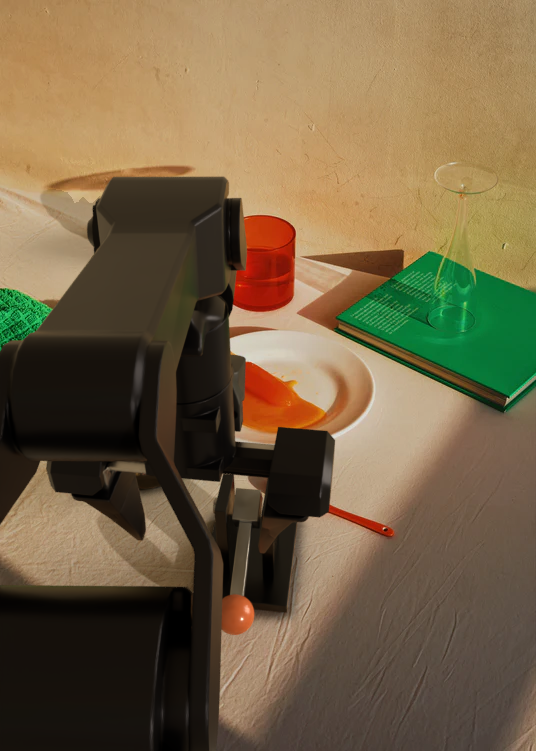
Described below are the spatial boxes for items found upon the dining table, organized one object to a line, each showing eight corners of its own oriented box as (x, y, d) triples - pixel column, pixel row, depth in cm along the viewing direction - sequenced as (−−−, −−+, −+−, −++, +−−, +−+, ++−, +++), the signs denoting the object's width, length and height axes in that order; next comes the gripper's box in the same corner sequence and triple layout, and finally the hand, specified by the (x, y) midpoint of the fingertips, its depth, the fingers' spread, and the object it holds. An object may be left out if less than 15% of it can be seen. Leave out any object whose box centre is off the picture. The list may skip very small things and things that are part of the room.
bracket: (286, 613, 65) (287, 543, 59) (197, 604, 65) (189, 534, 60) (297, 526, 73) (298, 457, 67) (217, 519, 73) (212, 450, 68)
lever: (253, 639, 61) (250, 633, 58) (215, 635, 61) (210, 629, 58) (268, 500, 66) (266, 488, 64) (233, 497, 67) (229, 485, 64)
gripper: (344, 314, 50) (334, 476, 60) (83, 297, 53) (113, 456, 62) (334, 420, 42) (324, 589, 51) (20, 394, 44) (67, 562, 53)
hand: (202, 541), depth 55 cm, fingers open, 9 cm apart
